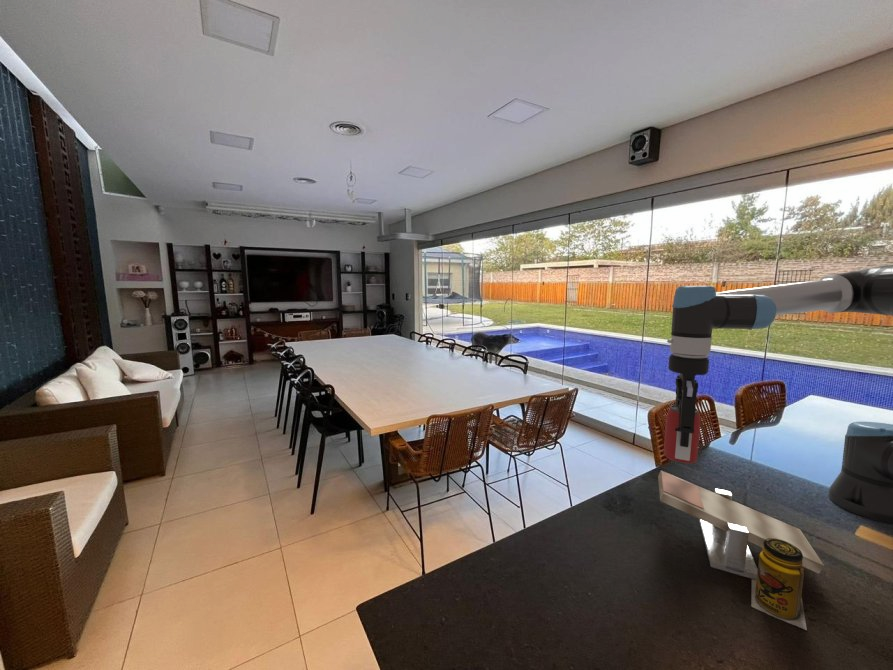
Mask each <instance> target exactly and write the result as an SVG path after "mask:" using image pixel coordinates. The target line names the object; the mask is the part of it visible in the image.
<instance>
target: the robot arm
mask: <svg viewBox="0 0 893 670" xmlns="http://www.w3.org/2000/svg"><path fill="white" fill-rule="evenodd" d="M671 305H672V314H671V315H672V316H671V317H672V318H671V319H672V320H671V333H670V335H671V338H668V339H667V342H666V343H667V344H670V347H669V351H670V353H671V354H670V355H669V356H668V366H667V367H668V370H669V371H670V372H672V373H676V374H677V376H676V378H675V404H674V405H680V408H679V427H678V428H675V431H677V438H676V450H675V458H676V459H682V460H687V461H690V451H691V440H692V433H694V420H695V408H697V407H696V406H697V405H696V403H697V396H698V391H699V390H698V389H699V382H697V379H696V377H695V376H705V375H707V374H708V373H709V367H710V358H709V357H708V356H710V355H711V347H712V338H713V337H712V335H713V330H716V329H717V330H719V329H726V330H749V331H751V330H759V329H760V330H761V329H765V328H767V327H769V326H771V325H772V324H773V322H774V321H775V319H776V316H782V315H783V316H784V315H792V314H800V313H808V312H809V313H810V312H818V311H824V312H826V313H830V314H838V313H859V314H870V315H871V314H873V315H879V316H881V315H883V316H891V317H893V264H888V265H879V266H874V267H868V268H864V269H858V270H853V271H848V272H847V271H846V272H842V273H835V274H828V275H825V276H823V277H821V278H820V279H819V280H810V281H809V280H808V281H803V282H792V283H785V284H784V283H783V284H776V285H768V286H759V287H752V288H751V287H750V288H742V289H734V290H733V289H732V290H726V291H720V292H719V291H717V289H716V287H715V286H714V285H680V286H678V287H676V289H675V291H674V296H673V302H672V304H671ZM843 443H844V444H843V446H844V447H843V453H842V454H843V455H842V461H841V462H842V463H841V469H840V473H839V474H838V475H837V476H836V478H835V479H834V480H833V482H832V484H831V485H830V486H829V488H828V494H827V496H828V498H829V500H831V501H832V502H833V503H834V504H835V505H837V506H839V507H841V508H843V509H844V510H846V511H849V512H851V513H853V514H856V515H858V516H862V517H863V518H867V519H871V520H873V521H877V522H881V523H885V524H891V525H893V423H892V424H891V423H885V422H877V421H876V422H874V421H854V422H851V423H850V424H848V426H847V431H846V433H845V435H844V442H843Z"/></svg>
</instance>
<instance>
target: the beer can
mask: <svg viewBox="0 0 893 670" xmlns="http://www.w3.org/2000/svg"><path fill="white" fill-rule="evenodd" d="M679 408H680V405H675V404H671V405H670V406H669V410H668V411H667V414H666V418H665V428H664V429H665V431H664V444H663V455H664V456H665V457H666V458H667V459H668V460H670V461H673V462H676V463H679V464H684V465H685V464H686V465H689V464H690V465H691V464H694V463H696V462H697V460H698V453H699V443H700V432H701V431H700V430H701V421H702V420H701V417H700V413H699V410H698V409H697V407H695V420H694V433H692V440H691V451H690V461H687V460H682V459H676V458H675V450H676V438H677V431H675V428H678V427H679Z"/></svg>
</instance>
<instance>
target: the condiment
mask: <svg viewBox="0 0 893 670" xmlns="http://www.w3.org/2000/svg"><path fill="white" fill-rule="evenodd" d="M763 543H764V546H763V548H762V551H760V553H759V554H758V567H757V569H758V571H757V572H758V573H757V580H754V579H751V601H750V602H751V605H750V606H751V608H753V609H755V610H757V611H760V612H762V613H764V614H767V615H768V616H771V617H774V618H775V619H778V620H780V621H783V622H785V623H786V624H790V625H792V626H796V627H798V628H801V629H803V630H805V631H808V628H807V623H806V622H807V621H806V617H805V609H804V601H803V597H802V594H803V587H804V586H803V585H804V579H805V567H803V566H802V563H803V562H802V559H803V555H802V552H801V551H800V550H799V549H798V548H797V547H795V546H794V545H792V544H791V543H788V542H786V541H783V540H780V539H775V538H768V539H765V540H764V542H763Z"/></svg>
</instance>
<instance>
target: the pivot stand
mask: <svg viewBox="0 0 893 670" xmlns="http://www.w3.org/2000/svg"><path fill="white" fill-rule="evenodd" d="M714 493H716V494H718V495H720V496H723V497H725V498H727V499H730V500H732V501H733V494H732V492H731V491H729V490H725V489H720V488H714ZM698 520H699V526H700V529H701V533H702V538H703V541H704V545H705V549H706V553H707V557H708V561H709V565H710V567H711V568H714V569H718V570H720V571H724V572H726V573H731V574H734V575H737V576H741V577H746V578H748V579H750V580H752V579H753V580H755V581H757V573H758V572H757V571H758V567H757V565H756V563H755V560H754V557H753V555H752V552H751V550H750V548H749V546H748V544H749V543H748V542H749V541H748V534H749V533H748V530H747V528H746V527H743V526H739V525H735V524H731V523H728V527H727V531H725V530H723V529H720V528H718V527H716V526H714V525H712V524H709V523H707V522H705V521H703V520H701V519H698Z"/></svg>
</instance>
